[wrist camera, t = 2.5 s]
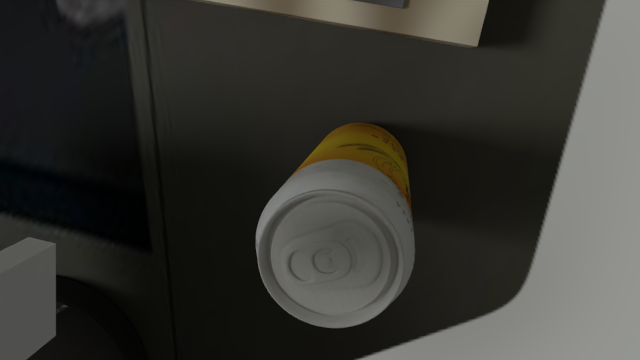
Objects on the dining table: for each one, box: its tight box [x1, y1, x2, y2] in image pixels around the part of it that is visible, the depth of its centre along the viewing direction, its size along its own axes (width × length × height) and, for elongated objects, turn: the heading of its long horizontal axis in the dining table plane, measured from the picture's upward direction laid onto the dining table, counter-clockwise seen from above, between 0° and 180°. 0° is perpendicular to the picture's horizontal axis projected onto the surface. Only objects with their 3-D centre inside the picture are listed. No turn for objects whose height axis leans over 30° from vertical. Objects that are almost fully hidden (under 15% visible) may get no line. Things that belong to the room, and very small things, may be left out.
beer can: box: [256, 123, 415, 328], centre depth 24 cm, size 6×6×15 cm
